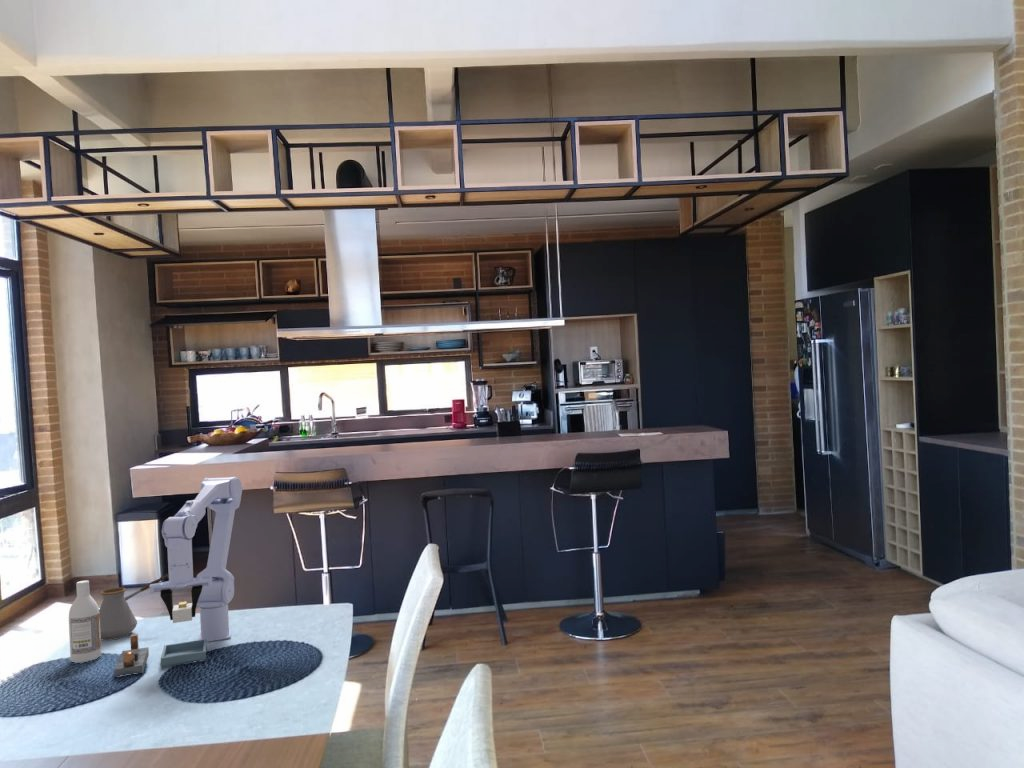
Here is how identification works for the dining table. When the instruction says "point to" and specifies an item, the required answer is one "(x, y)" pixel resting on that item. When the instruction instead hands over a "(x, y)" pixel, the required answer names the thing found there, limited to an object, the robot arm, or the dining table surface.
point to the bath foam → (84, 625)
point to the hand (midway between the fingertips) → (182, 617)
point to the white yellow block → (182, 612)
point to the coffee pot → (118, 612)
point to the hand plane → (132, 659)
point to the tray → (183, 653)
